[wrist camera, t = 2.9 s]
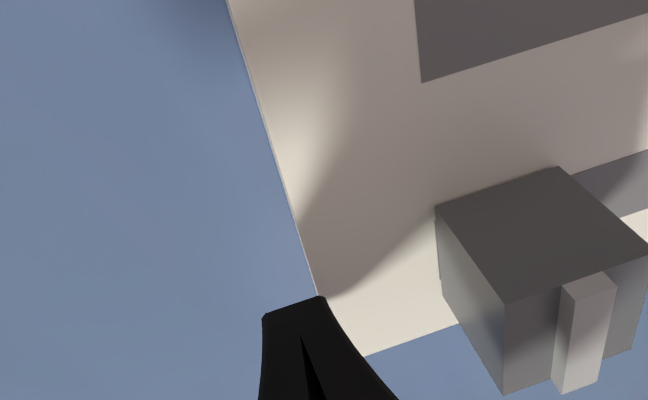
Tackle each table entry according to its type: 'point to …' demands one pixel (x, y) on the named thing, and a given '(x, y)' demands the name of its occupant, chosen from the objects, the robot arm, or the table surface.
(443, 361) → the table surface
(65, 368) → the table surface
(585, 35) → the switch panel
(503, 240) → the knob
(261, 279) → the table surface
